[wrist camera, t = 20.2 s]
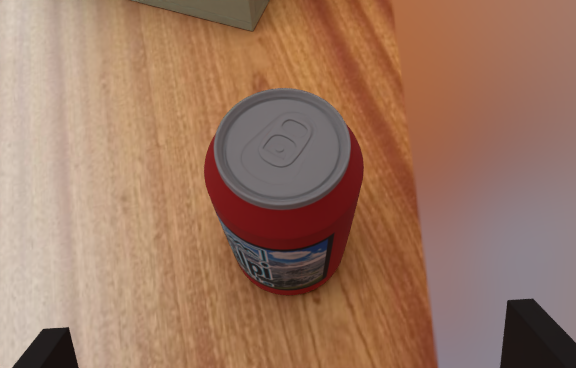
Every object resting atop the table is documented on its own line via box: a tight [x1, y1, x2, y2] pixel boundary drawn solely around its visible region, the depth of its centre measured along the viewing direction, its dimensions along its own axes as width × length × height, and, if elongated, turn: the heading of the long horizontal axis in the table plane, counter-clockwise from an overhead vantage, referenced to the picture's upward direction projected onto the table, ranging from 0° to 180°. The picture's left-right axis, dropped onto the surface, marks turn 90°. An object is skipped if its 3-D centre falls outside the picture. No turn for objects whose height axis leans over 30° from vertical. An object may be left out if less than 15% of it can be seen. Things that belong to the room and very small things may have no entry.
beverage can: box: [204, 88, 364, 295], centre depth 23 cm, size 7×7×12 cm
